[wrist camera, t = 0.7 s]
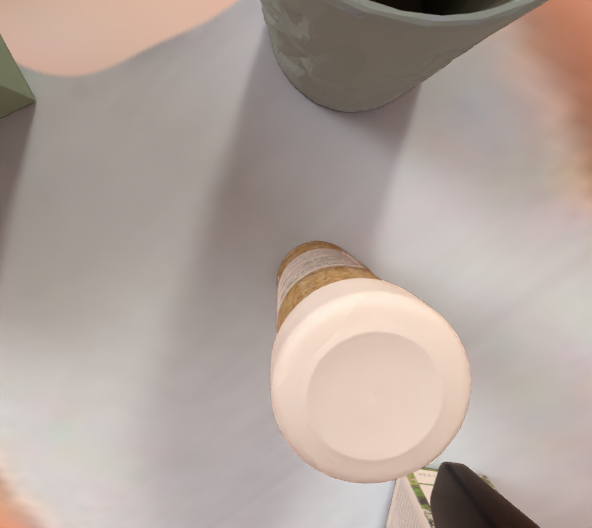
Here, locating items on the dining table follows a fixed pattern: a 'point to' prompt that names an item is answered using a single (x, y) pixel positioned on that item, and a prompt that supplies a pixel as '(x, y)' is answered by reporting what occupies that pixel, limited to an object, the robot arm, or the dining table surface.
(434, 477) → the syrup box
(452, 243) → the dining table surface
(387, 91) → the embossed plant pot
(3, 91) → the toaster
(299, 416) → the sprinkles bottle
